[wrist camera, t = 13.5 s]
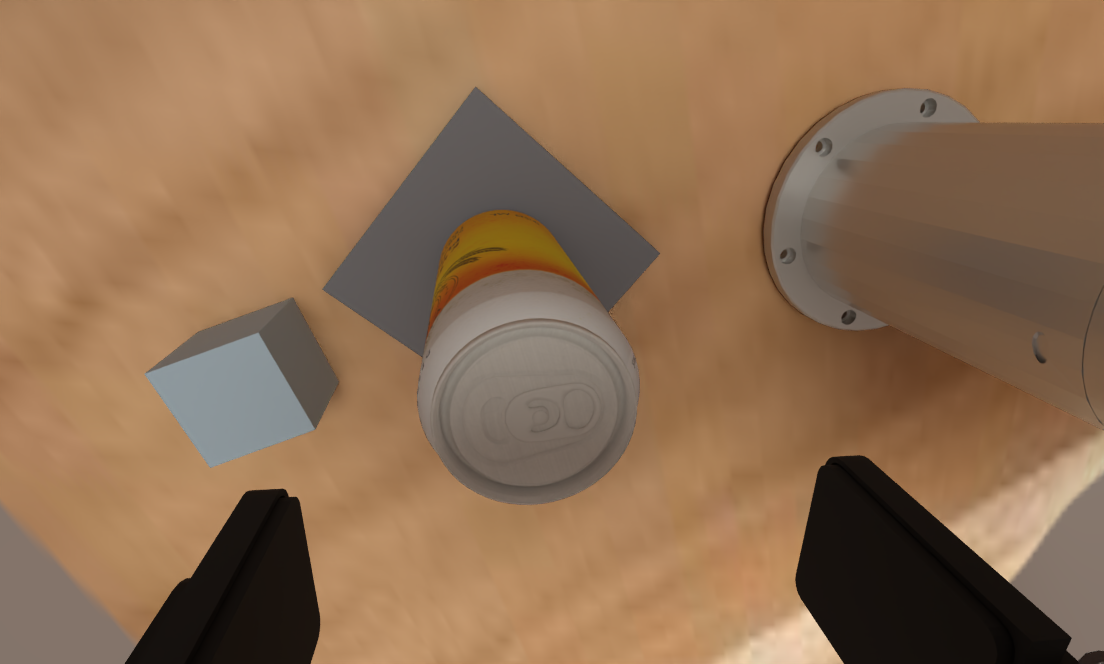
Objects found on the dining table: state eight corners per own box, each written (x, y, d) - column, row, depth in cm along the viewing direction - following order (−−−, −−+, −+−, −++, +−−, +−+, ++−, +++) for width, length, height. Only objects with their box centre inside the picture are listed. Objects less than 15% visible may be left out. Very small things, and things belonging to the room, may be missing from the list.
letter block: (198, 331, 28) (144, 373, 23) (293, 297, 28) (258, 332, 23) (252, 415, 30) (211, 470, 25) (340, 383, 30) (316, 432, 25)
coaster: (656, 250, 29) (660, 253, 29) (512, 413, 32) (513, 418, 31) (475, 87, 26) (475, 86, 25) (325, 286, 28) (322, 289, 27)
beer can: (429, 215, 27) (389, 327, 13) (555, 199, 27) (648, 289, 13) (451, 333, 29) (437, 535, 15) (566, 316, 29) (656, 495, 16)
